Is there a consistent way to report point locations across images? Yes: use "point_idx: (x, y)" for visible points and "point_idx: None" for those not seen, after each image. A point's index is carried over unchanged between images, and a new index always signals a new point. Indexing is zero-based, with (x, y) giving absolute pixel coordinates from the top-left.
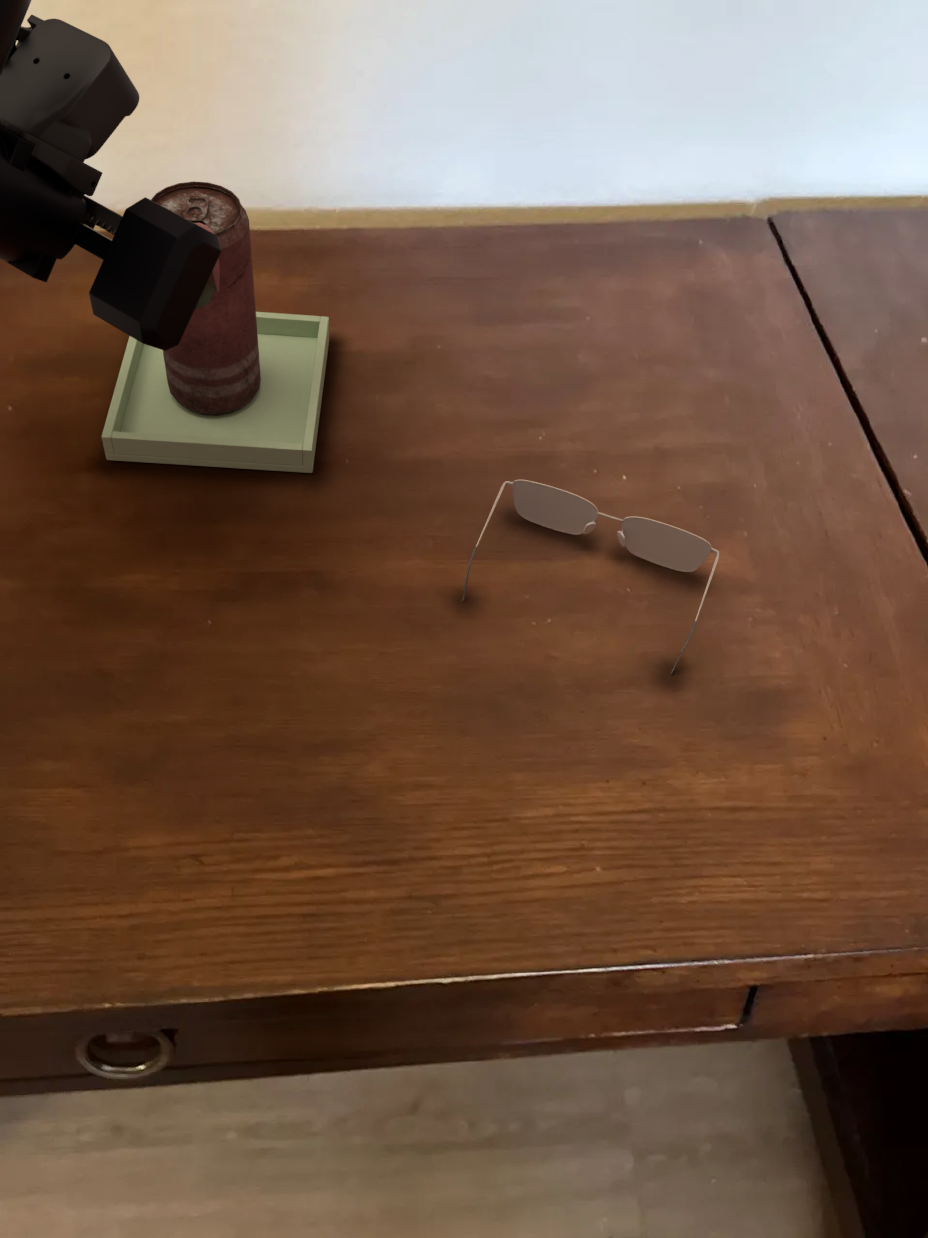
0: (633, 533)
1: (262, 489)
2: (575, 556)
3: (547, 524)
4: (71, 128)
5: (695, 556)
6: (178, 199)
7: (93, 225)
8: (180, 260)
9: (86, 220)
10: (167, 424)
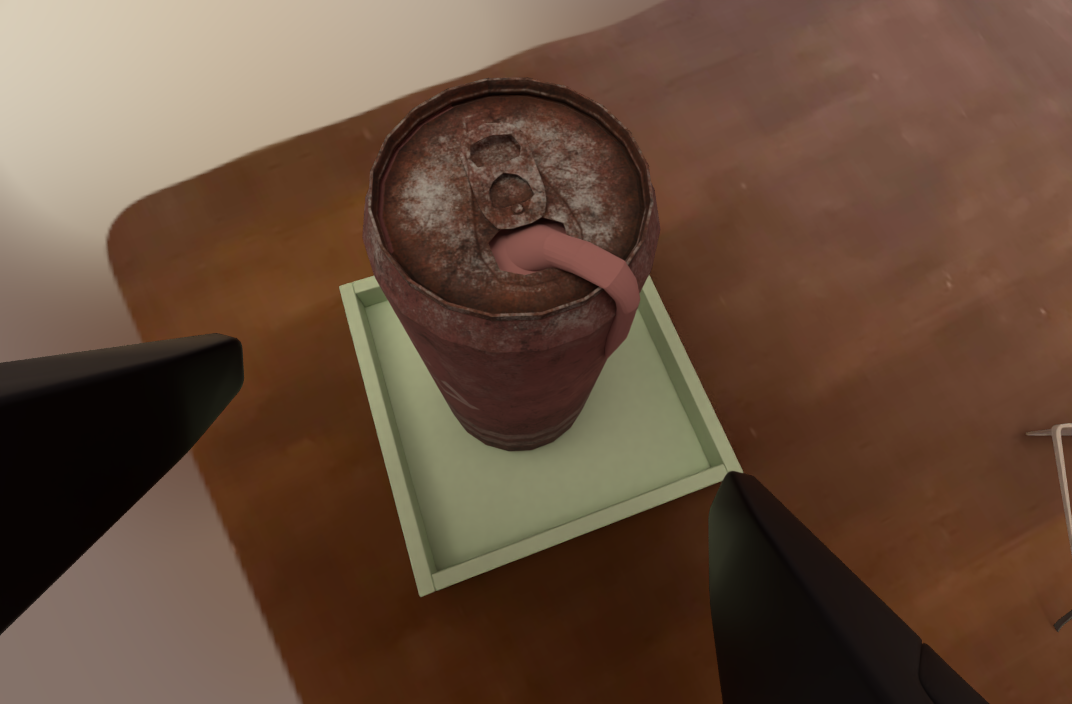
0: None
1: (676, 540)
2: None
3: (1064, 434)
4: None
5: None
6: (436, 164)
7: (238, 355)
8: None
9: (210, 369)
10: (487, 486)
